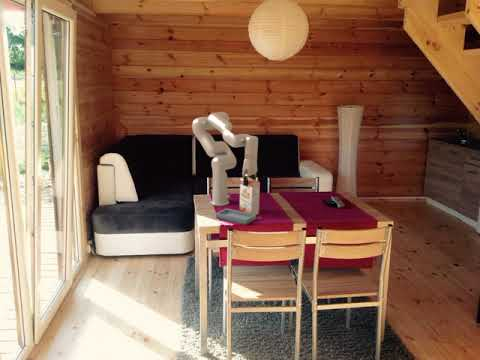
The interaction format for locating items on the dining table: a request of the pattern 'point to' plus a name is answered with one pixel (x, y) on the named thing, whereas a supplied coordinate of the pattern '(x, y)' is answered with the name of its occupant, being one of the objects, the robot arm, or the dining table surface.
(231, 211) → the tray
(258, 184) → the cracker box
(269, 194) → the dining table surface
